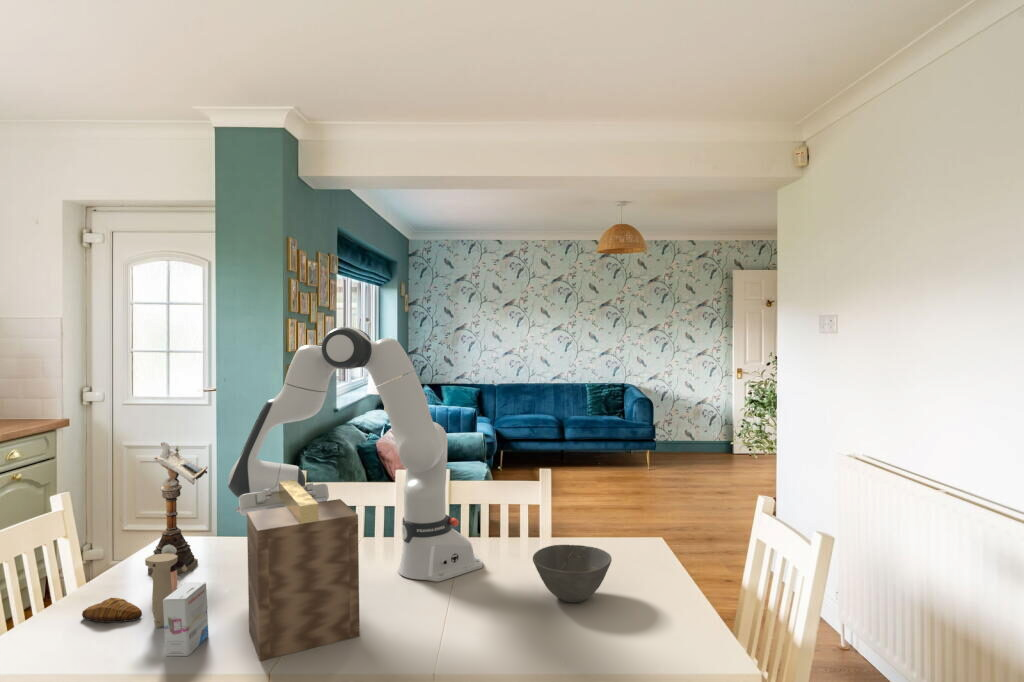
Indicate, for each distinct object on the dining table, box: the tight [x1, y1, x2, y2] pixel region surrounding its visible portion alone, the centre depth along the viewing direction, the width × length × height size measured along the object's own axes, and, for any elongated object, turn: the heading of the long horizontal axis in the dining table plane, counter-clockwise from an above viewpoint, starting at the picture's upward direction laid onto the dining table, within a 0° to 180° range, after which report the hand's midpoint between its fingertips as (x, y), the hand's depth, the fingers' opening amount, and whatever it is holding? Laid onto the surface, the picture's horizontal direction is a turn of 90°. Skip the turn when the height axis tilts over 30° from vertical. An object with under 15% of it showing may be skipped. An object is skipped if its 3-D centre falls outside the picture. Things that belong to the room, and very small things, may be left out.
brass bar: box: [279, 480, 319, 524], centre depth 142 cm, size 4×23×4 cm, turn 30°
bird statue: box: [147, 441, 208, 576], centre depth 177 cm, size 17×13×35 cm
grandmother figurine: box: [150, 544, 187, 593], centre depth 158 cm, size 8×4×13 cm, turn 131°
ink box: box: [163, 581, 209, 657], centre depth 134 cm, size 9×5×12 cm, turn 178°
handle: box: [144, 554, 177, 629], centre depth 144 cm, size 5×6×15 cm
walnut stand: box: [246, 498, 361, 662], centre depth 139 cm, size 20×14×26 cm
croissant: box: [81, 597, 143, 623], centre depth 147 cm, size 14×7×5 cm, turn 86°
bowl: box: [532, 544, 613, 603], centre depth 157 cm, size 19×19×10 cm
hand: (289, 489), depth 150 cm, fingers open, 8 cm apart
